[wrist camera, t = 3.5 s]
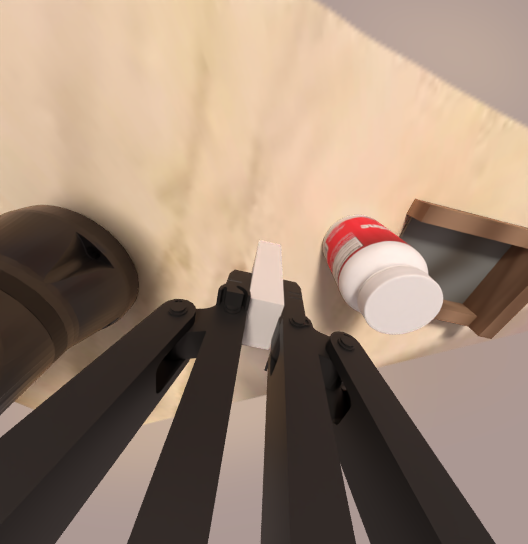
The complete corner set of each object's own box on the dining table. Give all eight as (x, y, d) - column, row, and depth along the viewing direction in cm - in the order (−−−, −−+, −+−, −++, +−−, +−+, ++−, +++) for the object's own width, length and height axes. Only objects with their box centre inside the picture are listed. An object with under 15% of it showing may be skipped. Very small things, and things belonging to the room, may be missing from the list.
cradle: (363, 292, 27) (377, 314, 23) (415, 198, 21) (442, 209, 18) (463, 314, 28) (491, 338, 24) (536, 230, 22) (585, 246, 19)
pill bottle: (394, 235, 23) (480, 299, 13) (351, 277, 26) (397, 355, 16) (350, 200, 22) (411, 243, 12) (309, 248, 24) (331, 315, 15)
